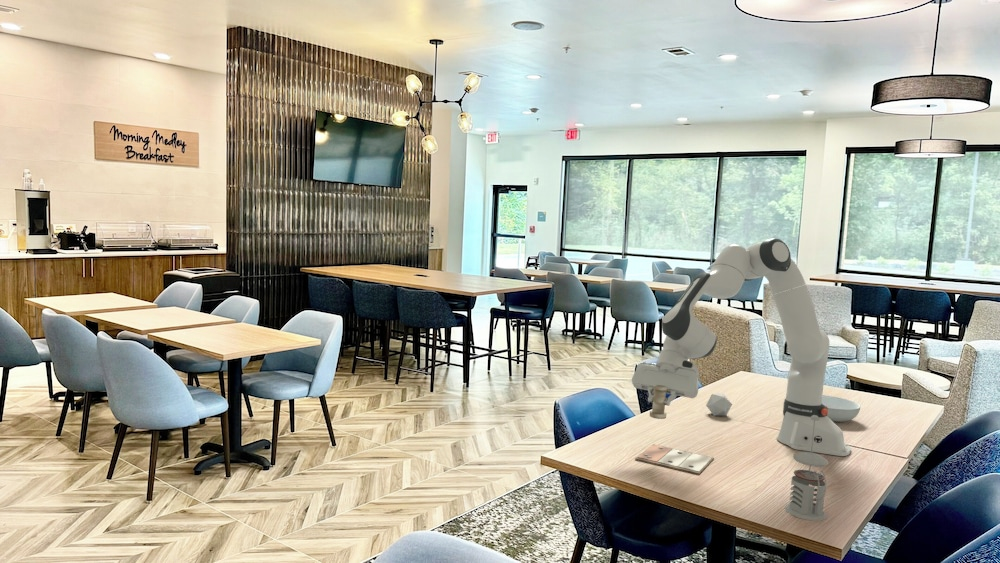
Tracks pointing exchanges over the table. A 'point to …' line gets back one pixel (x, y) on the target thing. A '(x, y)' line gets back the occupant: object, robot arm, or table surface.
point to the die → (719, 404)
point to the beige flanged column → (658, 402)
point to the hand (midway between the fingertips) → (658, 402)
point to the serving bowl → (840, 408)
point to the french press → (805, 493)
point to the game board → (675, 459)
